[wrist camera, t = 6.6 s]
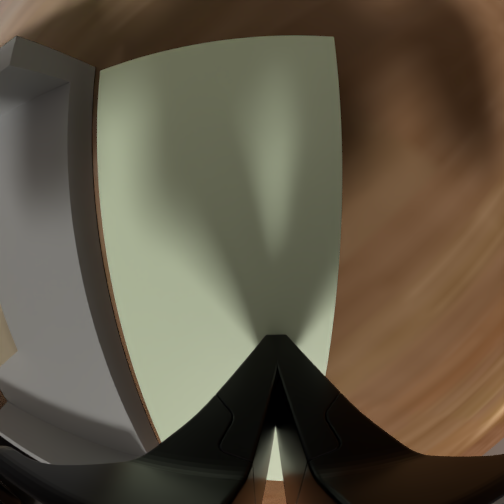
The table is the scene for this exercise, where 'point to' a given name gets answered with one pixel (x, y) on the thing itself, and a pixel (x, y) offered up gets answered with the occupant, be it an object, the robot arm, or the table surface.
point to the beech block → (5, 340)
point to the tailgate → (220, 210)
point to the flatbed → (58, 273)
